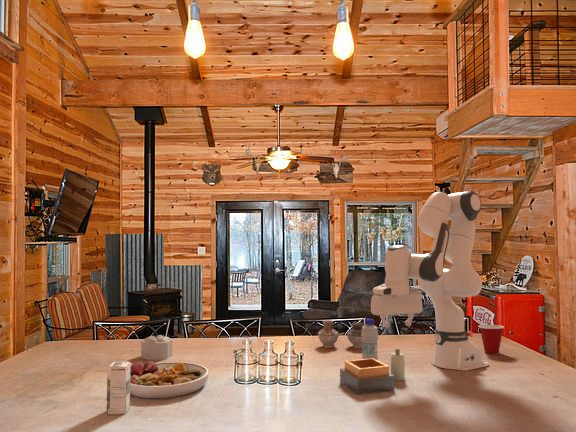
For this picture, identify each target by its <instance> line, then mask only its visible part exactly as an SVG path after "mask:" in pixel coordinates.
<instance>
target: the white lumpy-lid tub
mask: <svg viewBox="0 0 576 432" xmlns="http://www.w3.org/2000/svg"><path fill="white" fill-rule="evenodd" d="M172 356H173V338H170V336H169V337H168V336H167V335H166V336H163V335H162V334H159V335H150V336H148V337H145V338H144V339H142V340H140V357H141V359H142V360H143V359H144V360H148V361H165V360H168V359H169V358H170V357H172ZM164 359H165V360H164Z"/></svg>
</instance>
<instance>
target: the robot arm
mask: <svg viewBox="0 0 576 432" xmlns="http://www.w3.org/2000/svg"><path fill="white" fill-rule="evenodd" d="M481 208H482V199H481V198H480V196H479V194H478V193H477V192H475V191H471V190H465V191H461V192H454V193H450V194H447V193H446V192H442V191H436V192H434V193H432V194H431V195H430V196H428V198H427V200H425V203H424V204H423V206H422V208H421V210H420V211H419V213H418V216H417V219H416V220H417V221H416V222H417V226H418V228H419V229H420V231H421V232H423V234H425V235H426V236H428V237H431V238H433V242H432V247H431V251H430V252H428V253H423V254H422V253H413V252H411V251H409V250H408V249H409V248H408V247H407V245H405V244H397V245H395V244H393V245H391V246H389V247H387V248H386V252H385V254H384V255H385V258H384V271H385V278H384V283H382V284H381V285H378V286H375V287H373V288H372V293H373V295H372V296H371V300H370V312H371V314H372V315H374V316H379V318H380V319H381V322H382V327H383V328H389V324H390V323H389V322H388V321H387V319H386V318H387V316H390V315H392V316H393V315H394V316H395V315H407V319H406V320H405V321H404V322H405V323H404V325H405V326H406V327H411V325H412V321H413V318H414V317H415V315H414V314H421V313H422V312H423V301H422V291H423V292H424V293H425V294H426V295H427V296H428V297H429V299H430V301H431V302H432V304H433V308H434V312H435V315H434V316H435V329H434V339H435V340H434V342H435V348H434V354H433V359H432V362H431V364H432V365H434V366H435V367H437V368H440V369H441V368H442V369H447V370H457V371H464V372H465V371H466V372H467V371H471V370H475V369H480V368H484V367H489V366H490V362H489V361H487V360H485V359H484V357H483V352H482V350H481V348H480V347H478V346H477V345H476V344H474V342H472V341H471V340H470V339H469V337H471V338H472V337H473V336H474V332H473V331H471V330H468V331H467V330H465V312H464V310H463V309H462V307H460V306H459V305H457V304H456V303H455V302H454V300H453V298H452V297H460V298H469V297H476V296H478V295H479V294H480V292H481V291H482V288H483V281H482V277H481V275H480V274H479V273H478V272H477V270H475V269H474V267H473V265H472V253H473V248H474V243H475V238H476V223H475V221H474V220H476V218H477V217H478V215H479V213H480V212H481ZM448 221H450V227H449V225H448V224H447V222H448ZM445 260H446V261H447V262H448V263H450V264H452V266H451V268H444V267H445ZM410 279H412V280H418V284H419V286H420V289H421V290H422V291H421V290H420V289H419V288H416V287H415V288H411V287H410Z"/></svg>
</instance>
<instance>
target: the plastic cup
mask: <svg viewBox="0 0 576 432" xmlns="http://www.w3.org/2000/svg"><path fill="white" fill-rule="evenodd" d="M478 328H479V330H480V334H481V340H482V345H483V349H484V353H486V354H490V355H498V354H499V352H500V347H501V343H502V341H501V340H502V337H503V332H504V331H503V330H504V329H505V326H503V325H497V324H480V325H478Z"/></svg>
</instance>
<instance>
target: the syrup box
mask: <svg viewBox="0 0 576 432" xmlns="http://www.w3.org/2000/svg"><path fill="white" fill-rule="evenodd" d="M131 365H132V363H131V362H129V361H113V362H112V363H110V365H109V366H107V372H106V373H107V379H106V380H107V381H106V415H107V416H108V415H109V416H111V415H126V414H127V413H128V411H129V409H130V407H131V394H130V367H131Z"/></svg>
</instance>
